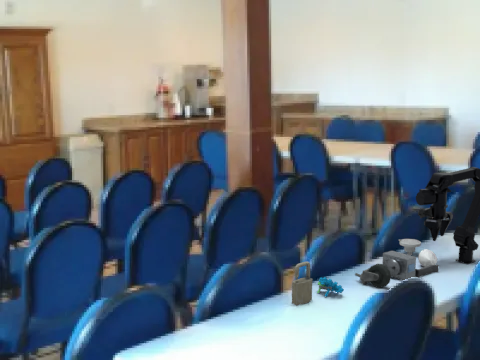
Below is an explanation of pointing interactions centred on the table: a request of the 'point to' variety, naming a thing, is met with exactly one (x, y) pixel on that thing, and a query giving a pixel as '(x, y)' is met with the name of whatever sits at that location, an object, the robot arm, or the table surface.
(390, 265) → the bracket
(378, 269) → the caster wheel
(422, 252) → the white folded round lump
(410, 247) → the showerhead
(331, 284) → the blue toy creature
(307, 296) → the padlock
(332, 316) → the table surface
